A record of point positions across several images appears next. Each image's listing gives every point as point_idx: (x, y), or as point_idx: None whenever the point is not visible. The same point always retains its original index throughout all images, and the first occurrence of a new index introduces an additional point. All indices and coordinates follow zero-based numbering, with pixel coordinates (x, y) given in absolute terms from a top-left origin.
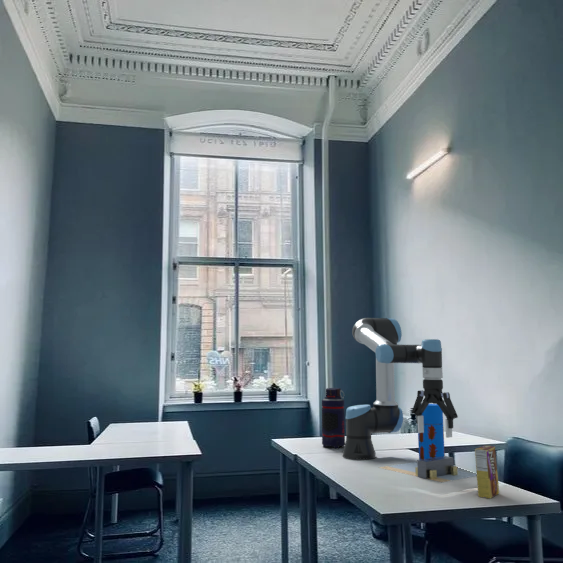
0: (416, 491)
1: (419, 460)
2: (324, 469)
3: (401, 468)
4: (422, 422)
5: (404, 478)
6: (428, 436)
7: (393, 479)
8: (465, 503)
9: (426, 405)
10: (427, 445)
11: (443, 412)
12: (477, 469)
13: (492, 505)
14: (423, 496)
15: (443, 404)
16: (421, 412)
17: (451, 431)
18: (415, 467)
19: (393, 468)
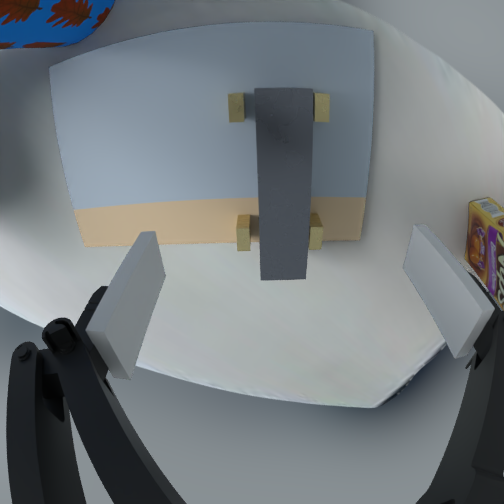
0: (347, 327)
1: (270, 278)
2: None
3: (119, 194)
4: (133, 295)
5: (222, 260)
6: (16, 21)
7: (217, 292)
8: None
9: (162, 484)
10: (42, 28)
11: (462, 410)
12: (496, 297)
13: None
14: (379, 338)
15: (486, 470)
16: (105, 385)
17: (442, 250)
18: (238, 250)
19: (110, 218)
